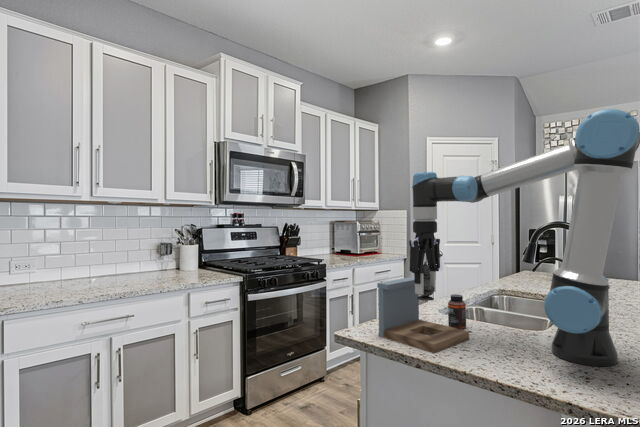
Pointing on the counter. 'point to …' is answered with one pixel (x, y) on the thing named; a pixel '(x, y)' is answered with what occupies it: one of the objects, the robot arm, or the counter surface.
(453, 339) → the socket block
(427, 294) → the dark grey chess piece
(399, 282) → the grey upright panel
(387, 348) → the counter surface
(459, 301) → the supplement bottle
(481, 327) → the counter surface
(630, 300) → the counter surface
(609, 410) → the counter surface
